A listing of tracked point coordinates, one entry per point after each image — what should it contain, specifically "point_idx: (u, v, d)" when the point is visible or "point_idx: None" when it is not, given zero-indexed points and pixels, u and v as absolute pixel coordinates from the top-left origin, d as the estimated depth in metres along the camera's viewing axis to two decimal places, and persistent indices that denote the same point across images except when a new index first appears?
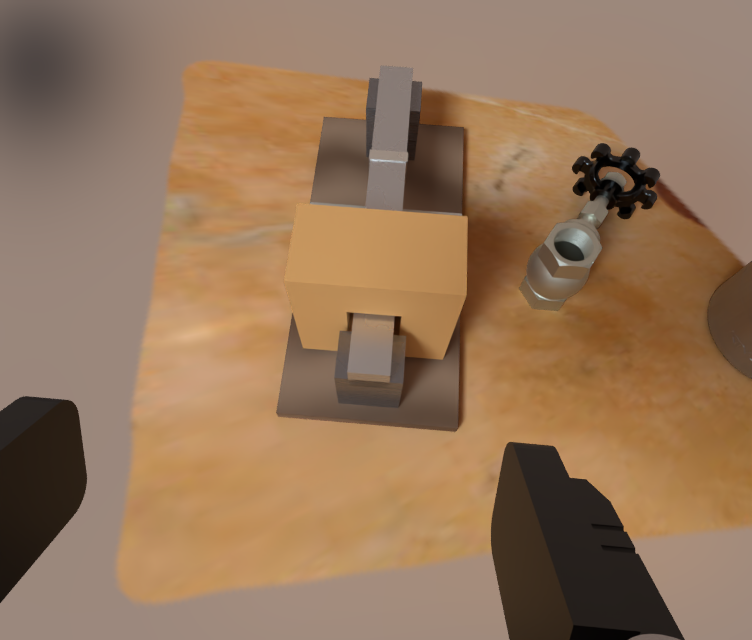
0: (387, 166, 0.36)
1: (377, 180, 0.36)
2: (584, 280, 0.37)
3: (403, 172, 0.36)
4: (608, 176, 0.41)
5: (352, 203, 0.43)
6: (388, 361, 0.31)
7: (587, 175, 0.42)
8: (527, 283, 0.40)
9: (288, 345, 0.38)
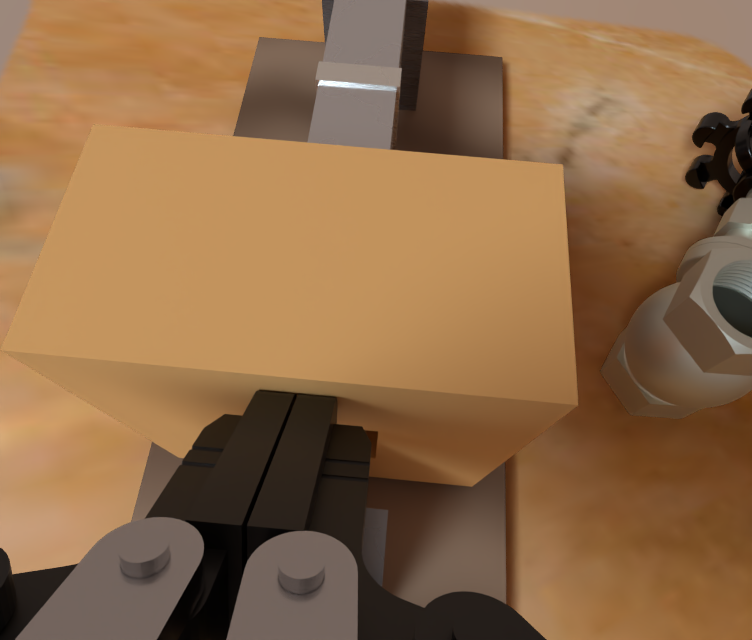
0: (355, 96, 0.16)
1: (332, 126, 0.16)
2: None
3: (390, 109, 0.16)
4: None
5: None
6: None
7: (722, 149, 0.22)
8: (624, 368, 0.19)
9: (145, 476, 0.18)
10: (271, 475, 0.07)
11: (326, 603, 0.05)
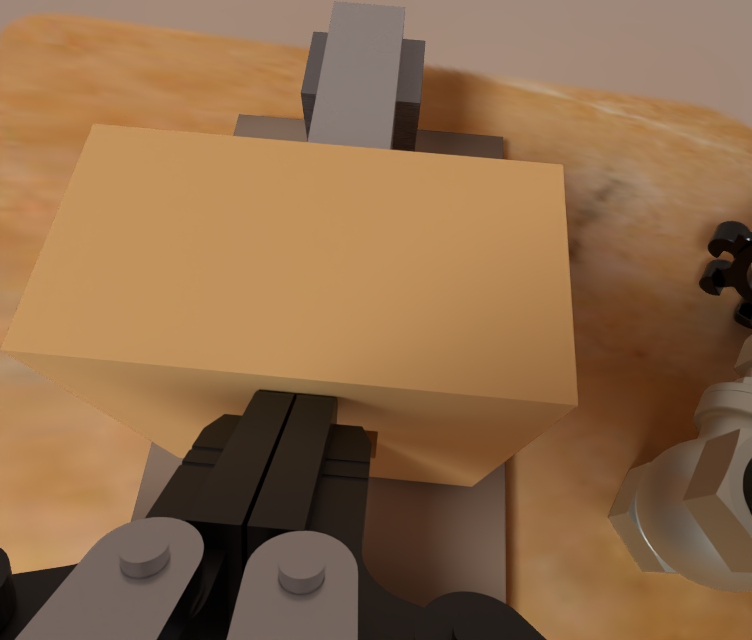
0: None
1: None
2: None
3: None
4: None
5: None
6: None
7: (741, 260, 0.20)
8: (635, 525, 0.17)
9: None
10: (271, 475, 0.07)
11: (326, 602, 0.05)
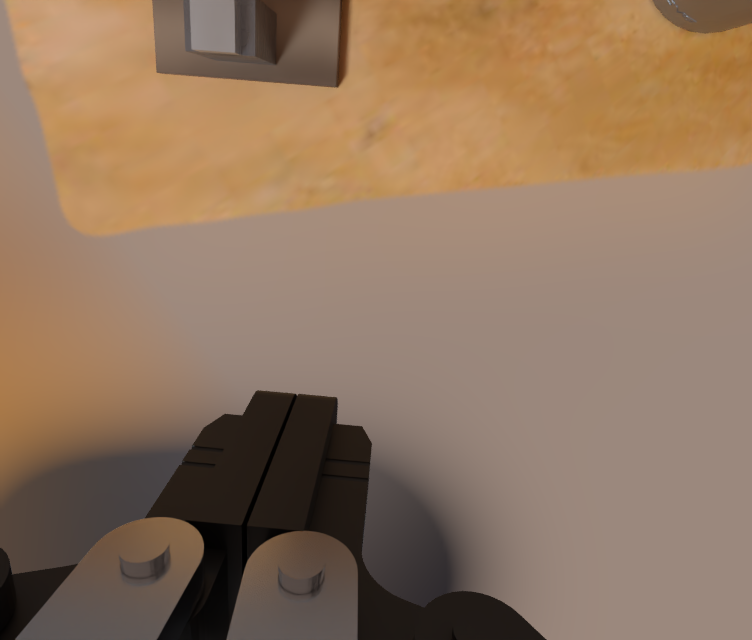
0: None
1: None
2: None
3: None
4: None
5: None
6: (231, 35, 0.29)
7: None
8: None
9: None
10: (271, 475, 0.07)
11: (326, 603, 0.05)
